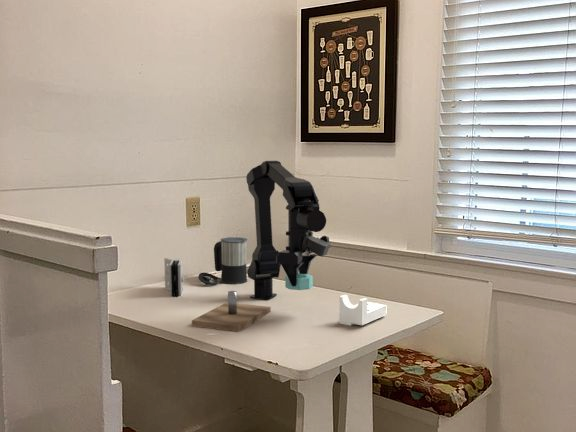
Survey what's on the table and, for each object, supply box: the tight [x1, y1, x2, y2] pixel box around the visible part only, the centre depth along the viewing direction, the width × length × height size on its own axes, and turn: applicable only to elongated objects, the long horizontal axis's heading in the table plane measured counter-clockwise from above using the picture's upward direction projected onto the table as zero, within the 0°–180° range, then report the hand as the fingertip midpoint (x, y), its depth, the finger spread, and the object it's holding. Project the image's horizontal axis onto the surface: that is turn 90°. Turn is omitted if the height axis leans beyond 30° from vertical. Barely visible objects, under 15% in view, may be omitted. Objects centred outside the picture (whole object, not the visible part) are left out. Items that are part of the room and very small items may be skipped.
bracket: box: [338, 294, 388, 327], centre depth 177 cm, size 13×7×8 cm, turn 142°
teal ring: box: [284, 273, 314, 291], centre depth 180 cm, size 7×7×3 cm
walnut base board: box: [191, 301, 272, 332], centre depth 179 cm, size 20×14×2 cm
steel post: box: [227, 290, 238, 315], centre depth 178 cm, size 2×2×6 cm
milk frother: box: [197, 236, 248, 286], centre depth 222 cm, size 14×16×15 cm
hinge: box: [164, 257, 184, 298], centre depth 210 cm, size 14×5×10 cm, turn 18°
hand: (298, 283), depth 180 cm, fingers closed on teal ring, 7 cm apart
